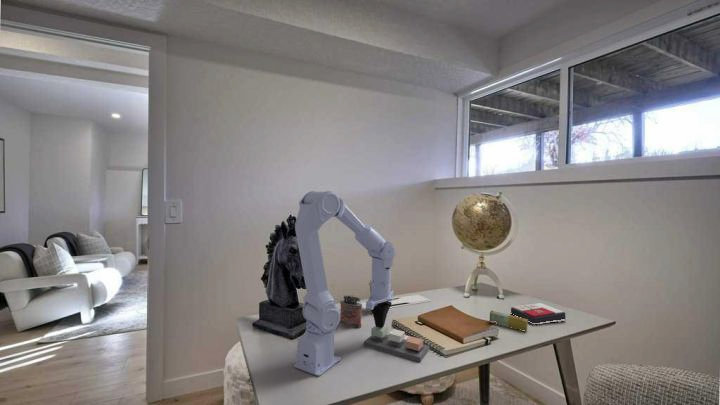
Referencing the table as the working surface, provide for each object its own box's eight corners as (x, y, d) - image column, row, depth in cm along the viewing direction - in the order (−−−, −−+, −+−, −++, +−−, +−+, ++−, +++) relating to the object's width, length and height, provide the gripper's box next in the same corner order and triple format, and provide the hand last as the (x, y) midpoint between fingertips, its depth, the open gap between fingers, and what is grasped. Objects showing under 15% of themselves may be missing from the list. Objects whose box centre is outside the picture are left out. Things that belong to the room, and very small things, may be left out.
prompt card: (415, 344, 91) (415, 342, 91) (391, 337, 95) (391, 335, 95) (419, 340, 94) (419, 338, 94) (395, 333, 98) (395, 331, 98)
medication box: (488, 323, 110) (489, 312, 110) (491, 321, 112) (491, 310, 112) (526, 333, 102) (527, 321, 102) (528, 330, 105) (528, 318, 104)
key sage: (382, 337, 89) (382, 331, 89) (371, 334, 90) (371, 328, 90) (387, 333, 92) (387, 327, 92) (376, 330, 94) (376, 324, 94)
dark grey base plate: (420, 362, 81) (420, 357, 81) (363, 345, 89) (363, 340, 89) (429, 350, 88) (429, 345, 88) (376, 335, 96) (376, 331, 96)
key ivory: (399, 342, 86) (400, 336, 86) (388, 339, 88) (388, 333, 88) (404, 337, 89) (404, 331, 89) (393, 334, 91) (393, 328, 91)
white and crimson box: (510, 305, 119) (540, 301, 124) (510, 316, 119) (540, 311, 124) (533, 315, 109) (566, 310, 113) (533, 327, 109) (566, 322, 113)
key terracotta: (418, 351, 83) (418, 344, 83) (406, 347, 85) (406, 341, 85) (422, 345, 86) (423, 339, 86) (410, 342, 88) (410, 336, 88)
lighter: (337, 324, 104) (338, 294, 104) (342, 320, 107) (343, 292, 107) (358, 329, 100) (359, 298, 100) (363, 325, 103) (364, 296, 103)
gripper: (382, 288, 83) (381, 339, 83) (402, 278, 95) (401, 321, 96) (360, 284, 86) (358, 332, 86) (382, 274, 99) (381, 316, 99)
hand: (379, 326), depth 91 cm, fingers closed
